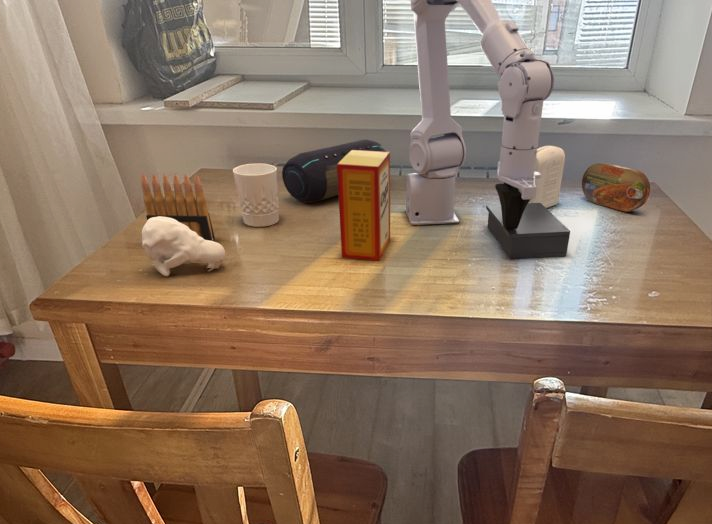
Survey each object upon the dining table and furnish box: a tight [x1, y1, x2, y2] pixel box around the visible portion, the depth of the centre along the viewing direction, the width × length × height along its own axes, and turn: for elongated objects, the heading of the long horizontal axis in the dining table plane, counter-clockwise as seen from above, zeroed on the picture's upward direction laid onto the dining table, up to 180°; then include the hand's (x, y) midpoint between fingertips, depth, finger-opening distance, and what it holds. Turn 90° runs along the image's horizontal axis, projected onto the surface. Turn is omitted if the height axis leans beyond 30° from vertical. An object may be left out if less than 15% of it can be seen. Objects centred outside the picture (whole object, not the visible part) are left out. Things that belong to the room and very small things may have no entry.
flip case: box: [486, 212, 571, 260], centre depth 105 cm, size 10×15×4 cm
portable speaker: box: [281, 139, 387, 203], centre depth 125 cm, size 25×10×10 cm, turn 137°
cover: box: [485, 203, 571, 238], centre depth 103 cm, size 11×15×4 cm
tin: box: [581, 162, 651, 213], centre depth 122 cm, size 15×3×8 cm, turn 41°
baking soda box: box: [337, 150, 391, 262], centre depth 98 cm, size 10×6×16 cm
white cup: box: [232, 162, 280, 228], centre depth 110 cm, size 8×8×10 cm
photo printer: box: [529, 145, 566, 209], centre depth 119 cm, size 10×4×12 cm, turn 134°
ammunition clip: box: [140, 173, 216, 242], centre depth 100 cm, size 11×2×12 cm, turn 91°
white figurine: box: [141, 216, 226, 277], centre depth 91 cm, size 6×8×12 cm
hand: (510, 227), depth 99 cm, fingers closed
